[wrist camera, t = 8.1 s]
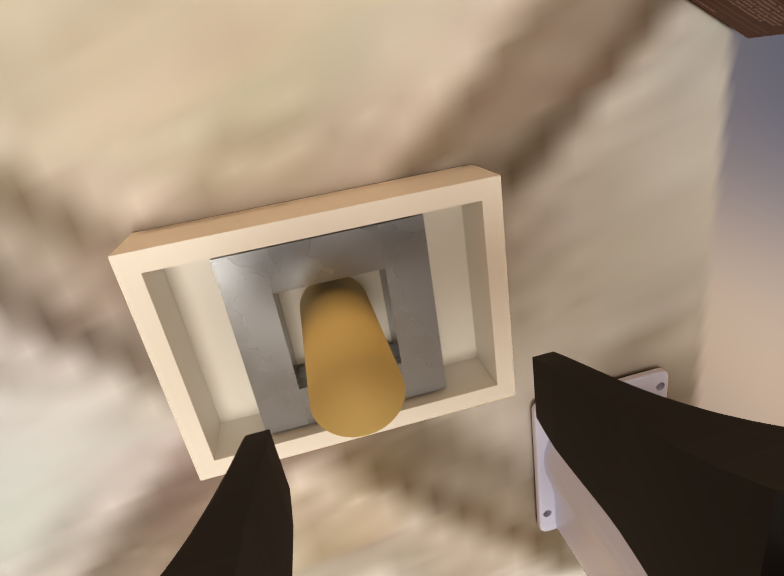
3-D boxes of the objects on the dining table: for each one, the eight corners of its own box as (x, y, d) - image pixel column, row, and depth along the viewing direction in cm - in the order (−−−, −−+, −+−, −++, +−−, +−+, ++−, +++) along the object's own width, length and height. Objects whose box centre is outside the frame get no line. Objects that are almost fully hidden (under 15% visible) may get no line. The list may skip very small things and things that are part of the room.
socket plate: (433, 364, 24) (446, 387, 22) (268, 407, 23) (266, 435, 21) (410, 203, 21) (423, 214, 19) (216, 244, 20) (209, 260, 18)
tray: (489, 362, 25) (515, 395, 22) (209, 434, 23) (200, 480, 20) (471, 164, 21) (500, 175, 18) (131, 232, 19) (107, 256, 16)
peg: (371, 331, 22) (408, 427, 16) (304, 342, 22) (315, 445, 16) (365, 269, 21) (402, 346, 15) (294, 279, 21) (302, 364, 14)
